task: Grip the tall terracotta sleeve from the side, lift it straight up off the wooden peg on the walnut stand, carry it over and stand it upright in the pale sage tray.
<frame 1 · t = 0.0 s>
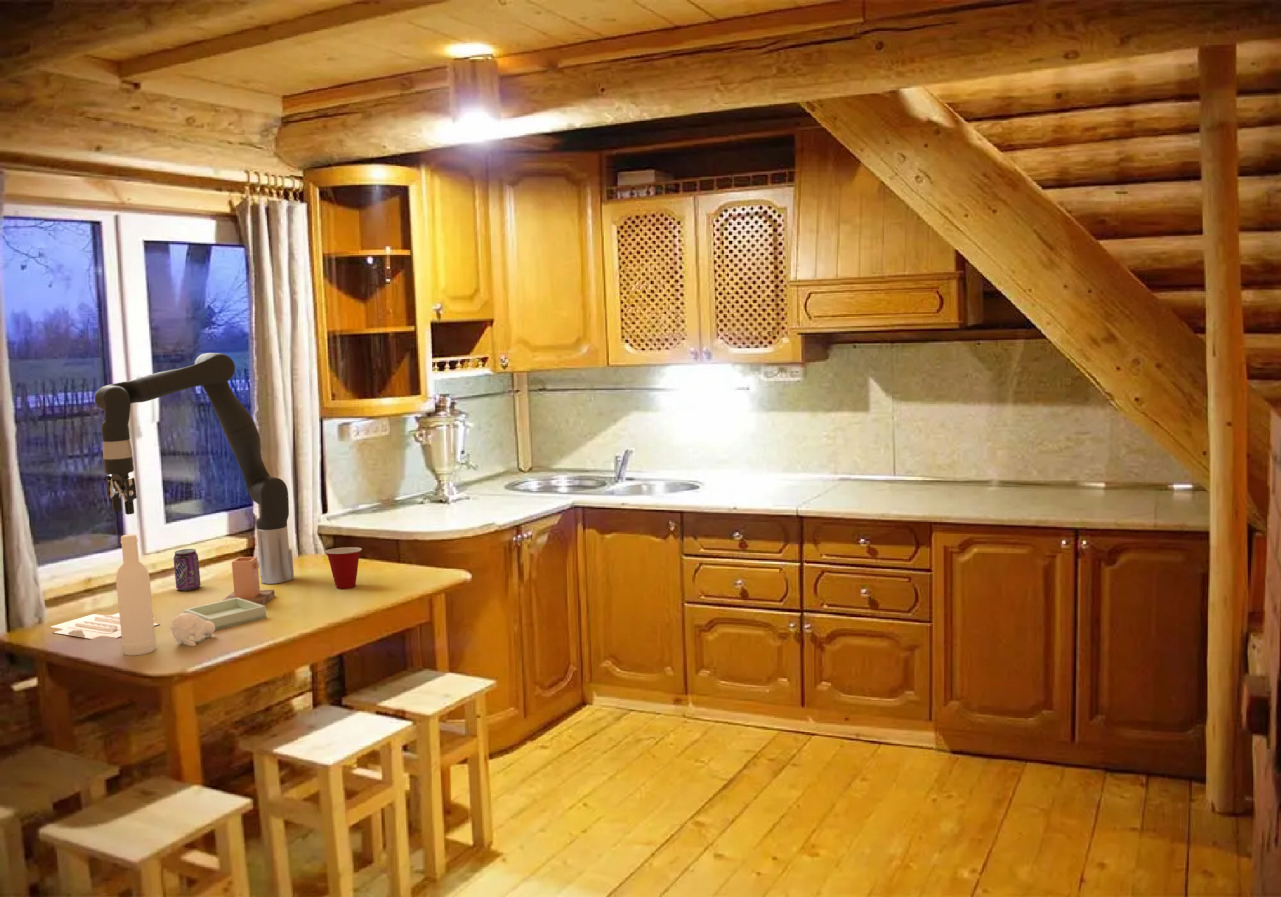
hand: (123, 512, 320), 29 cm above the table, tool pointing down, fingers open, 8 cm apart
tray: (225, 619, 313), on the table
animal figurine: (196, 642, 292), on the table
sleeve: (247, 595, 330), point 2 cm above the table, touching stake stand
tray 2: (105, 629, 310), on the table
beverage can: (188, 589, 350), on the table
bottle: (139, 651, 286), on the table
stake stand: (248, 602, 330), on the table
plastic cup: (346, 587, 345), on the table
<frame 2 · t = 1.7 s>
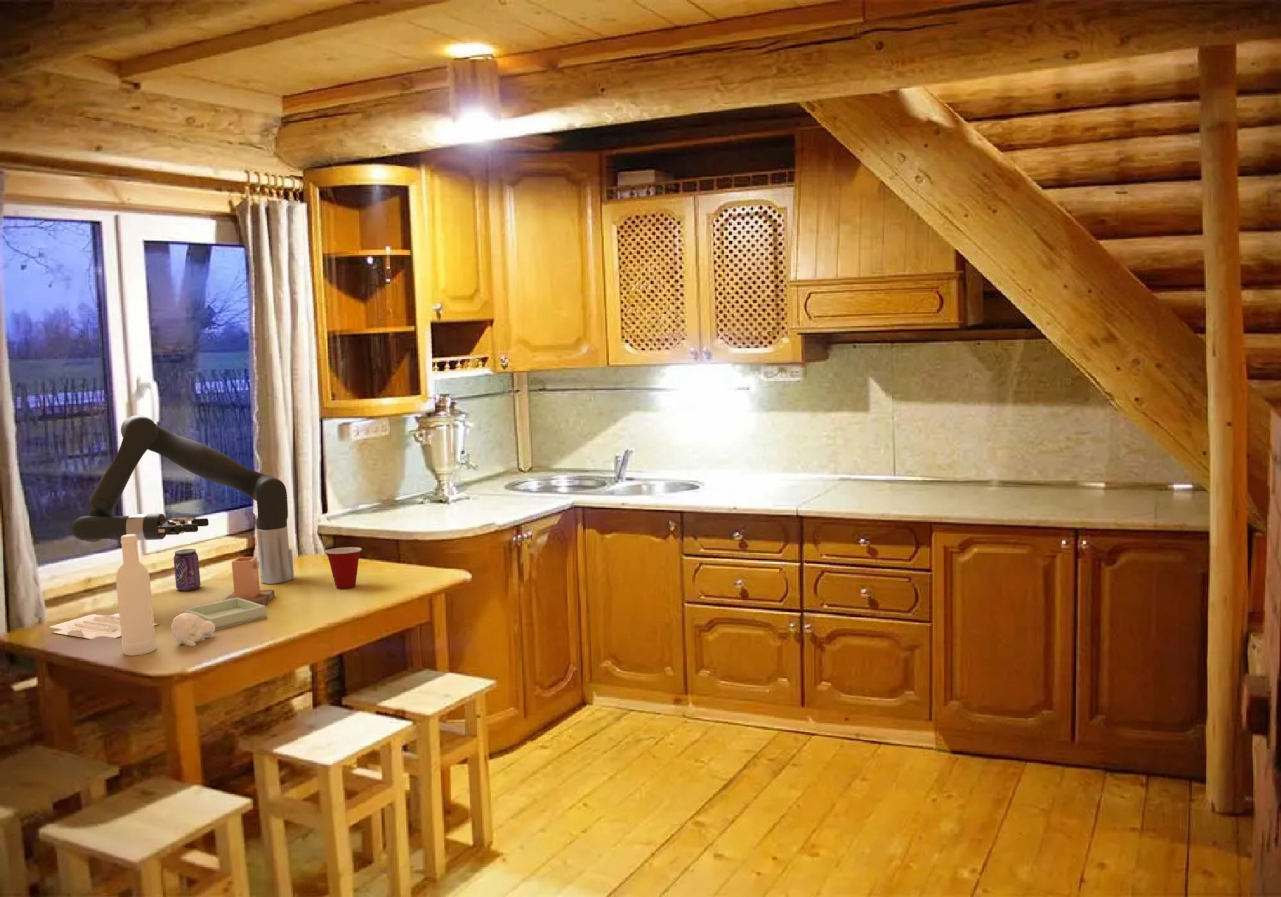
hand: (202, 525, 327), 24 cm above the table, tool horizontal, fingers open, 8 cm apart
nothing on the table moved.
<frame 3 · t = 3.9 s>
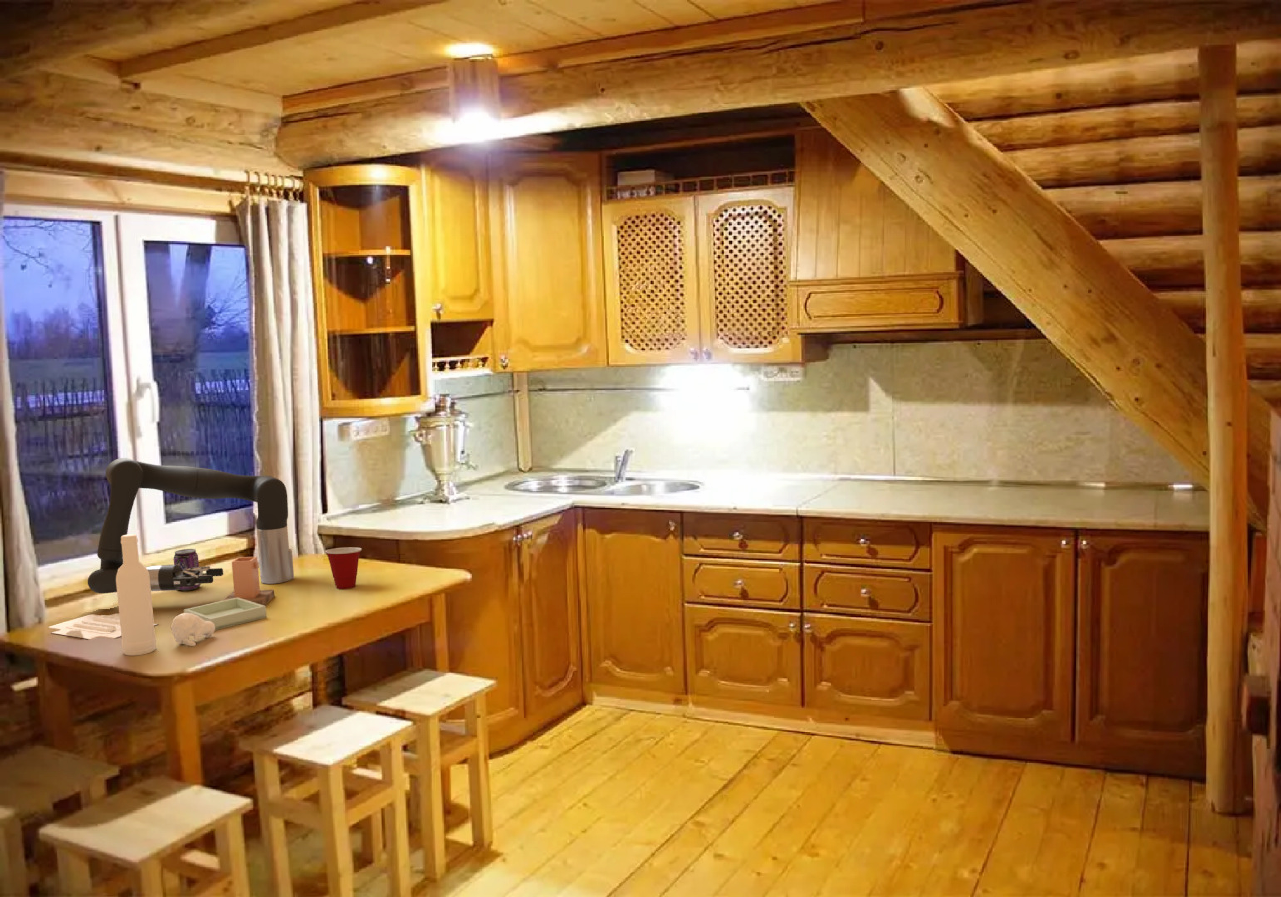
hand: (217, 575, 329), 8 cm above the table, tool horizontal, fingers open, 8 cm apart
nothing on the table moved.
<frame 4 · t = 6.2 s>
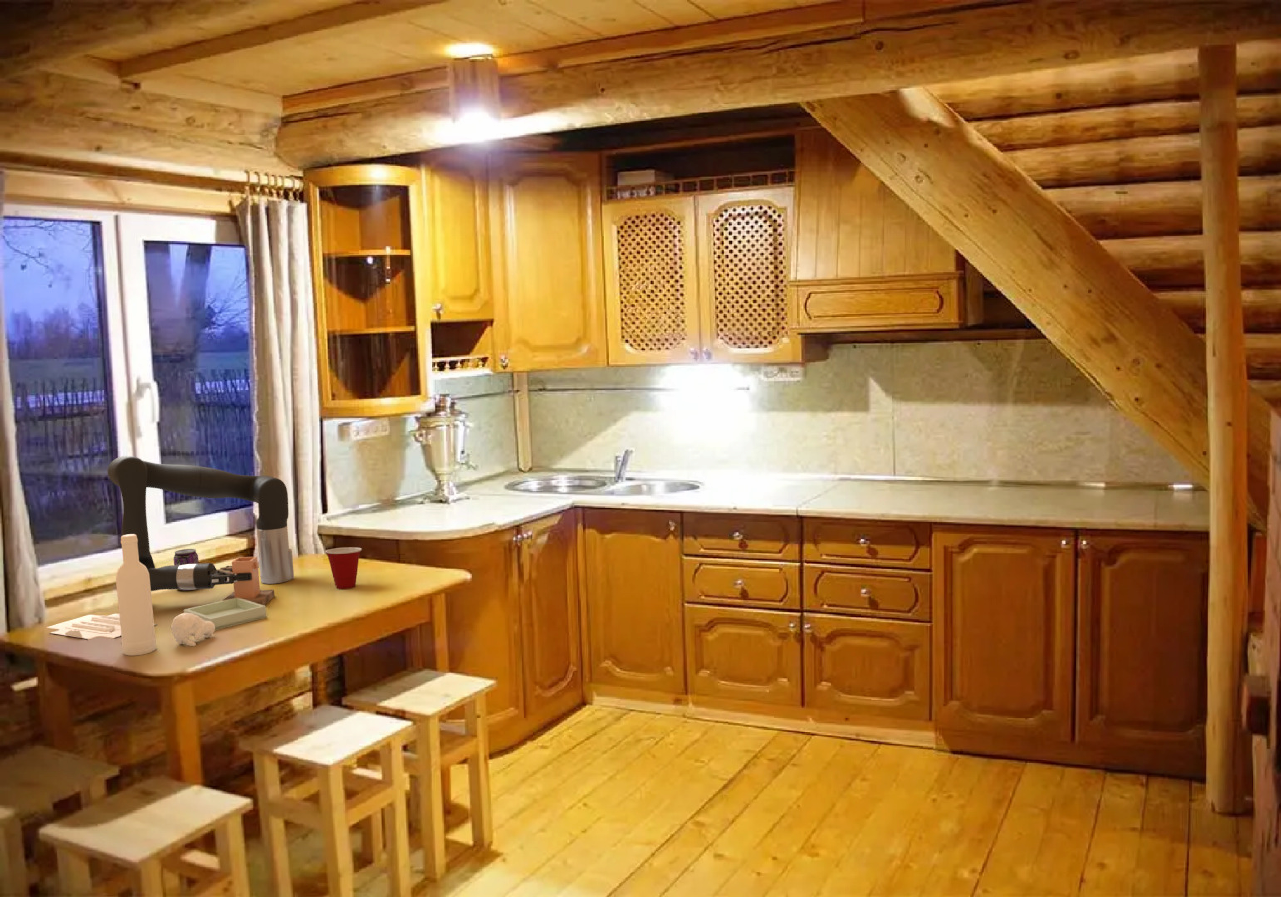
hand: (254, 573, 329), 8 cm above the table, tool horizontal, fingers closed on sleeve, 5 cm apart
sleeve: (247, 595, 330), point 2 cm above the table, touching gripper, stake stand
everything else where it was.
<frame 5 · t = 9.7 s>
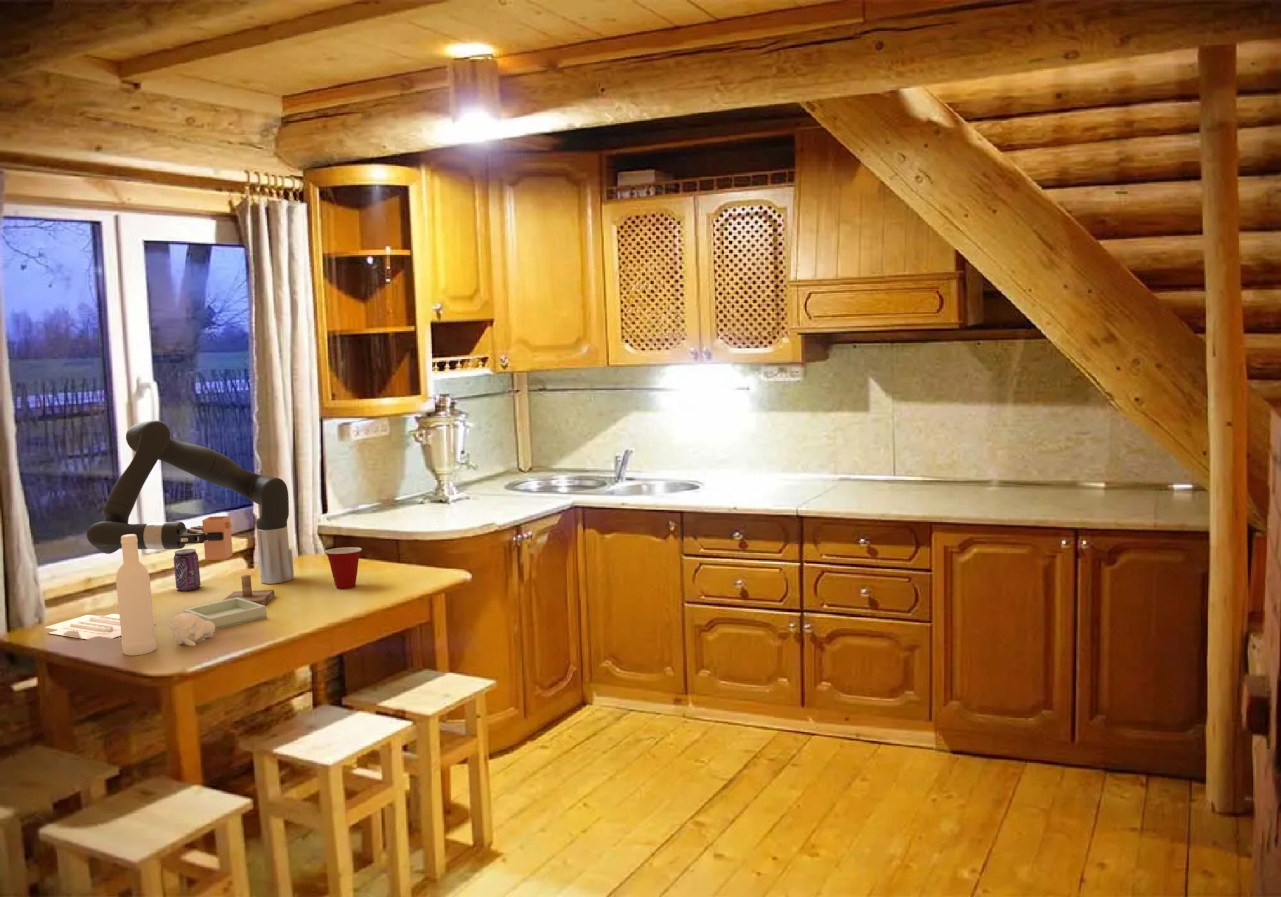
hand: (226, 533, 310), 24 cm above the table, tool horizontal, fingers closed on sleeve, 5 cm apart
sleeve: (219, 557, 311), point 18 cm above the table, touching gripper
when the fingers open (9 cm above the table, at t = 13.2 s): sleeve drops 1 cm, resting on tray.
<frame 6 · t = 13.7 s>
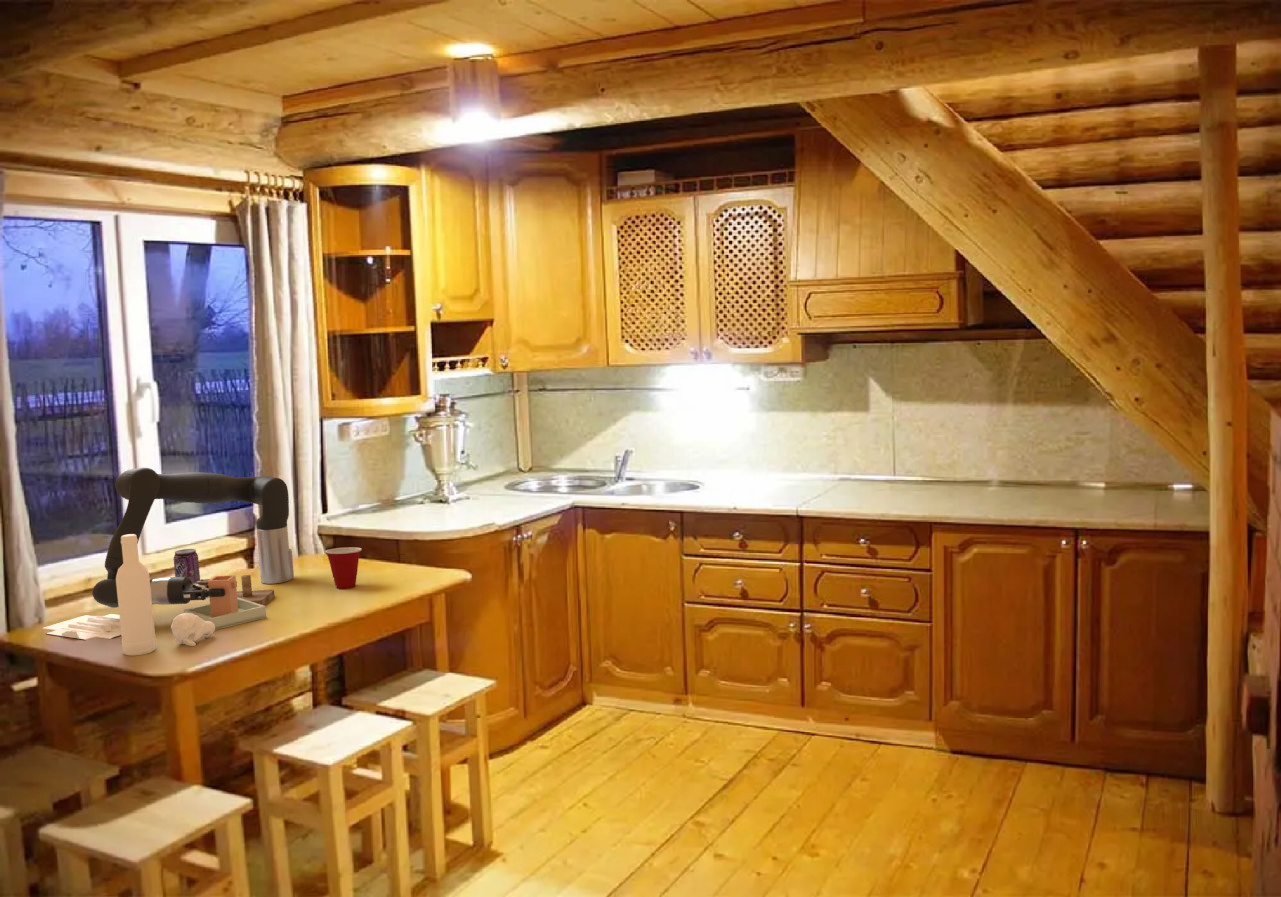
hand: (229, 588, 312), 9 cm above the table, tool horizontal, fingers open, 8 cm apart
sleeve: (225, 616, 313), point 1 cm above the table, touching tray
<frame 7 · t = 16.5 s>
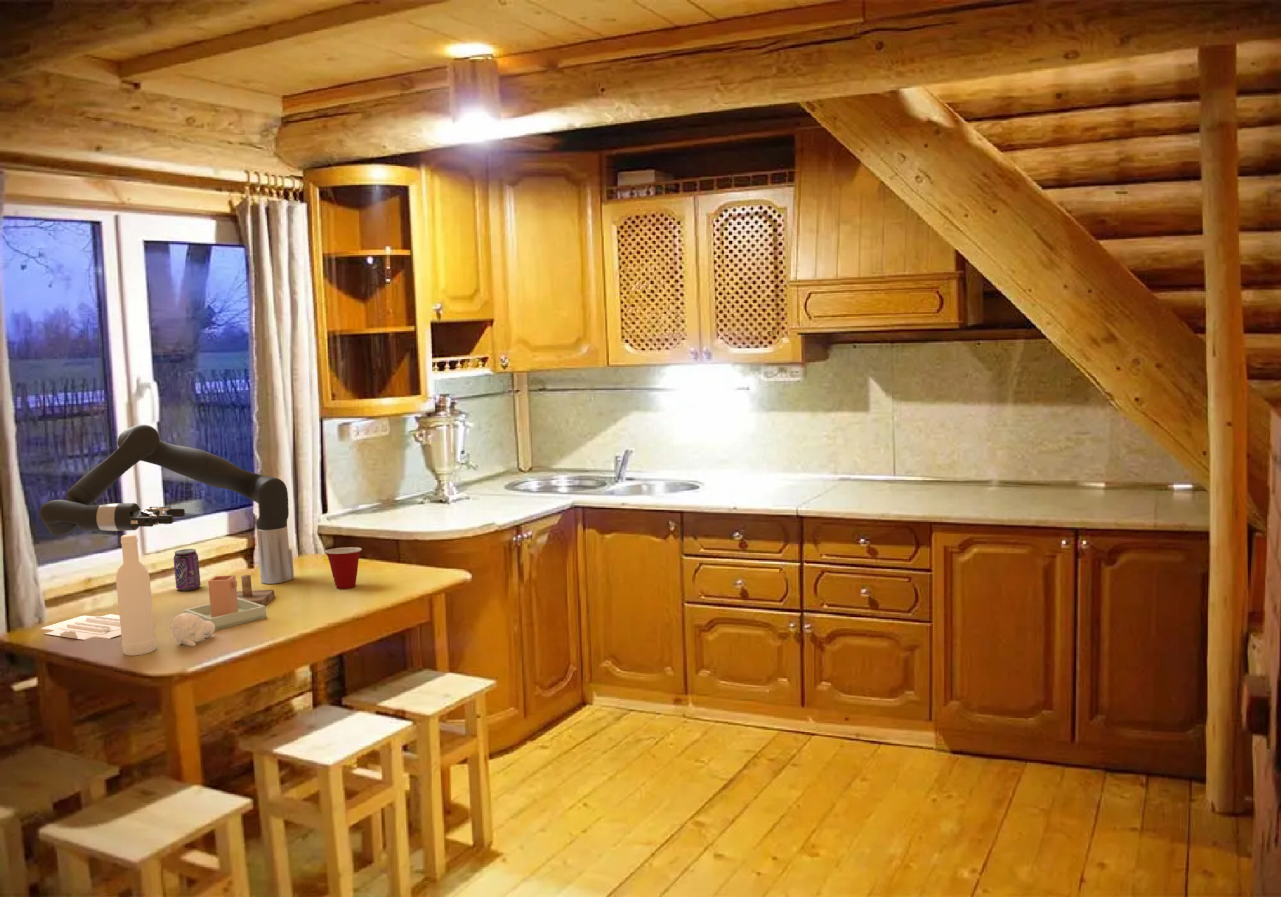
hand: (178, 515, 309), 30 cm above the table, tool horizontal, fingers open, 8 cm apart
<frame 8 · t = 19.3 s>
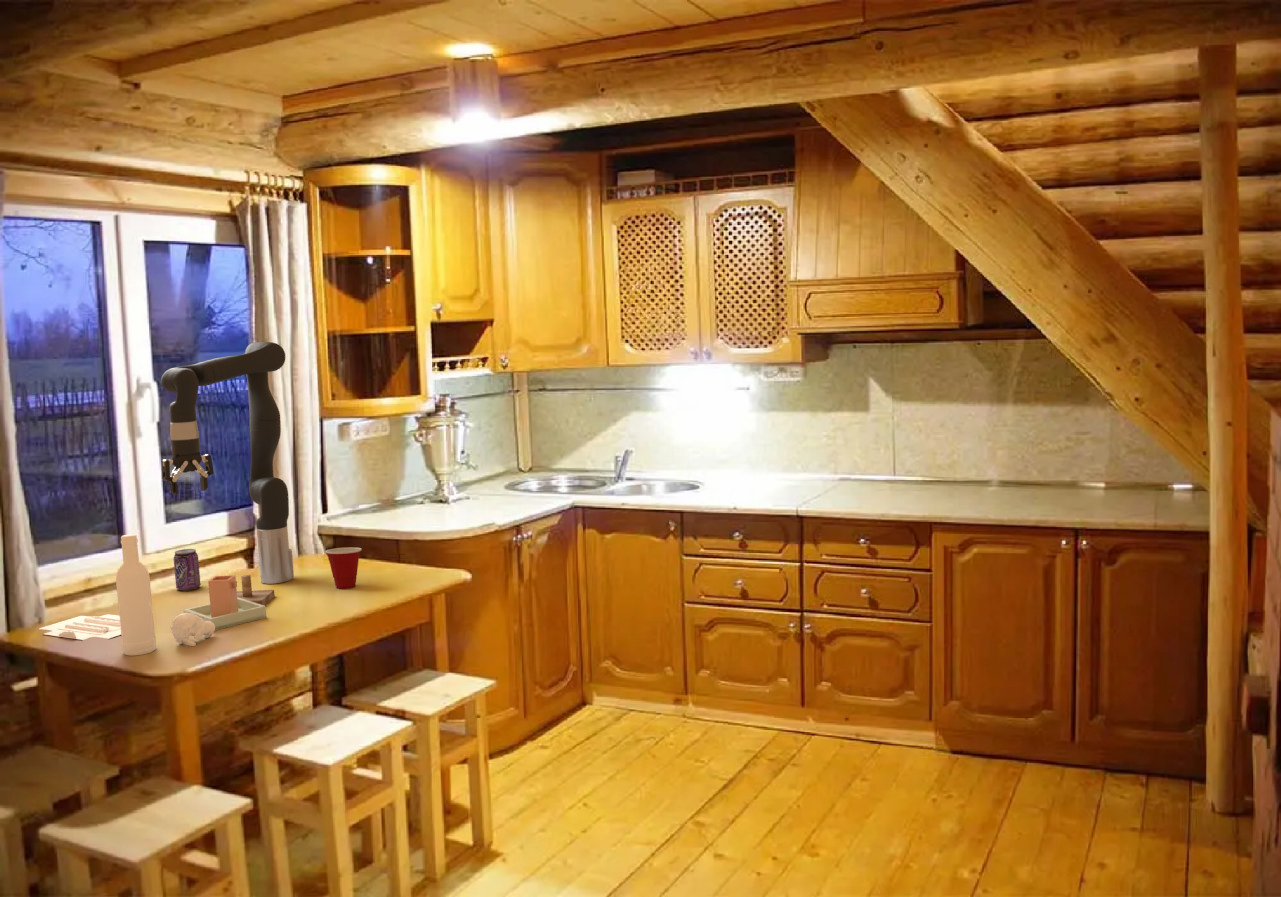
hand: (189, 492, 328), 33 cm above the table, tool pointing down, fingers open, 8 cm apart
at the end: sleeve inside the target area on the tray (0.1 cm from its centre), point 0.8 cm above the tray's base; sleeve tilted 0°; the gripper is holding nothing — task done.
